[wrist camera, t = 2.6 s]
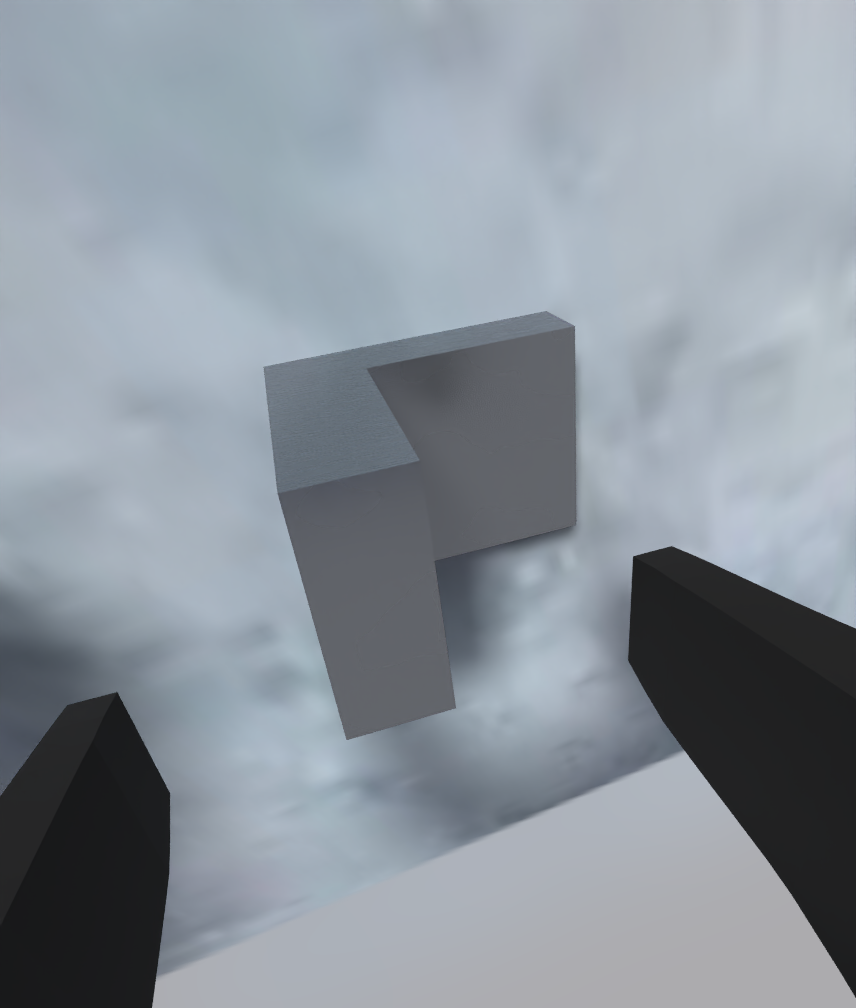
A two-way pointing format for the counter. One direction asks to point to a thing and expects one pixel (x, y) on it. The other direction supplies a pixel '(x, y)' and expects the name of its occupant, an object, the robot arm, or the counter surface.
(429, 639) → the bracket
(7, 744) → the counter surface
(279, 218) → the counter surface
